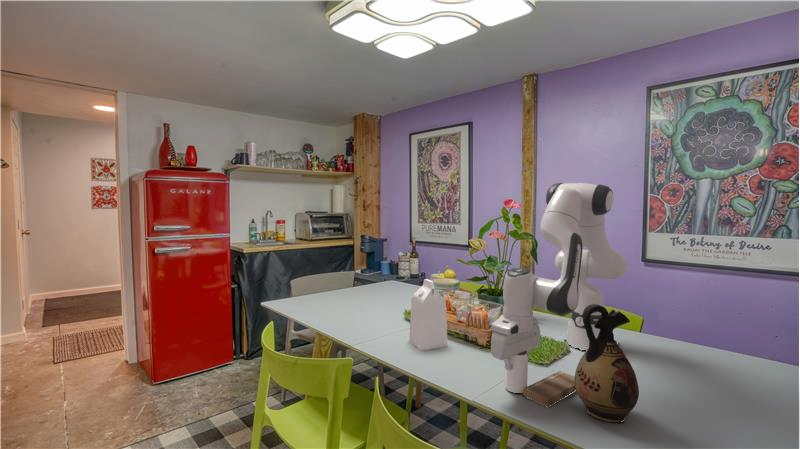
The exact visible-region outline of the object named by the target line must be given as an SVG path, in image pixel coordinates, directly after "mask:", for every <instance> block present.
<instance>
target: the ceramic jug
mask: <svg viewBox="0 0 800 449" xmlns="http://www.w3.org/2000/svg"><path fill="white" fill-rule="evenodd" d="M596 312H599V313H601V317H600V318H599V319H598V321H597V323H596V324H595V326H594V327H595V328H597V329H600V332H599V334H598V337H597V338H596V337H595V335H594V333H593V329H592V326H591V322H590V315H591V314H592V313H596ZM583 323H584V326H585V330H586V333H587V337H588V339H589V348H588V349H587V351H584V352H583V354H582V356H581V357H580V359H579V362H578V363H577V366H576V369H575V374H574V377H575V389H576V392H575V393H576V394H577V396H578V398H579V399H580V401H581V402H582V404H583V405H584V406H585V409H586V410H587V411H586V413H587V412H588V413H589V414H588V413H587V414H588V415H590V414H591V415H590V416H592V417H594V418H596V419H598V420H601V421H603V420H604V422H606V421H608V422H607V423H612V422H621V421H623V420H624V418H625V419H626V416H628V414H630V413H631V411H633V410H634V408H635V407H636V405H637V403H638V400H639V396H640V388H639V383H638V378H637V375H636V372H635V370H634V368H633V365H632V363H631V362H630V361H629V359H628V357H627V356H626V354H625V352H624V351H623V350H622V348H621V347H620V345H618V344H617V342H616V341H615V340H616V339H615V335H614V330H615V329H616V328H619V327H620V326H623V325H626V324H628V323H630V319H629V318H628V317H627V316H626V315H625V314H624V313H622V312H621V311H620V310H618V311H616V310H615V309H612V310H610V312H609V311H608V310H607V308H606V307H604V305H603V306H601V305H597V304H592V305H589V306H587V307H586V308H585V309H584V312H583ZM614 339H615V340H614Z"/></svg>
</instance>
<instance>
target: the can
mask: <svg viewBox="0 0 800 449" xmlns="http://www.w3.org/2000/svg"><path fill="white" fill-rule="evenodd" d="M526 353H527V352H526V351H525V352H522V353H519V354H517V355H514V356H512V357H511V360H510V362H511V364H513V369H512V370H506V369H505V381H504V383H505V384H504V386H505V389H506V390H507V391H508V392H509V391H510V392H509V393H511V392H513V393H512V394H514V393H523V388H525V387H528V372H529V371H528V370H529V368H528V367H529V366H528V364H529V357H528V356H527V354H526Z"/></svg>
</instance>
